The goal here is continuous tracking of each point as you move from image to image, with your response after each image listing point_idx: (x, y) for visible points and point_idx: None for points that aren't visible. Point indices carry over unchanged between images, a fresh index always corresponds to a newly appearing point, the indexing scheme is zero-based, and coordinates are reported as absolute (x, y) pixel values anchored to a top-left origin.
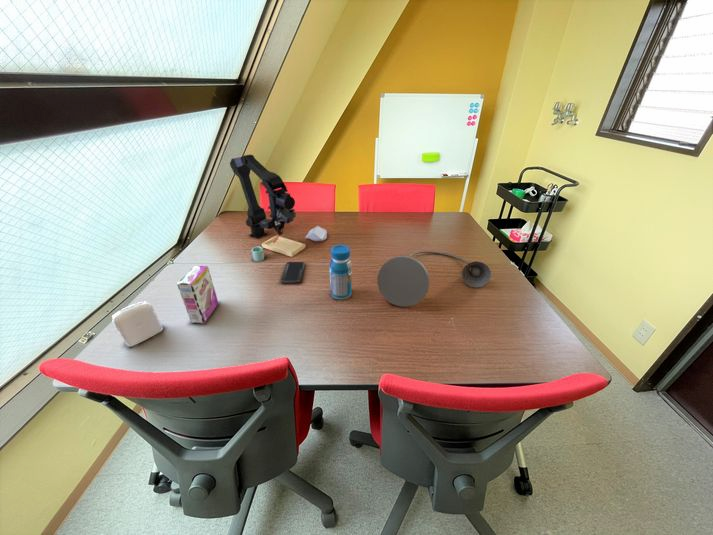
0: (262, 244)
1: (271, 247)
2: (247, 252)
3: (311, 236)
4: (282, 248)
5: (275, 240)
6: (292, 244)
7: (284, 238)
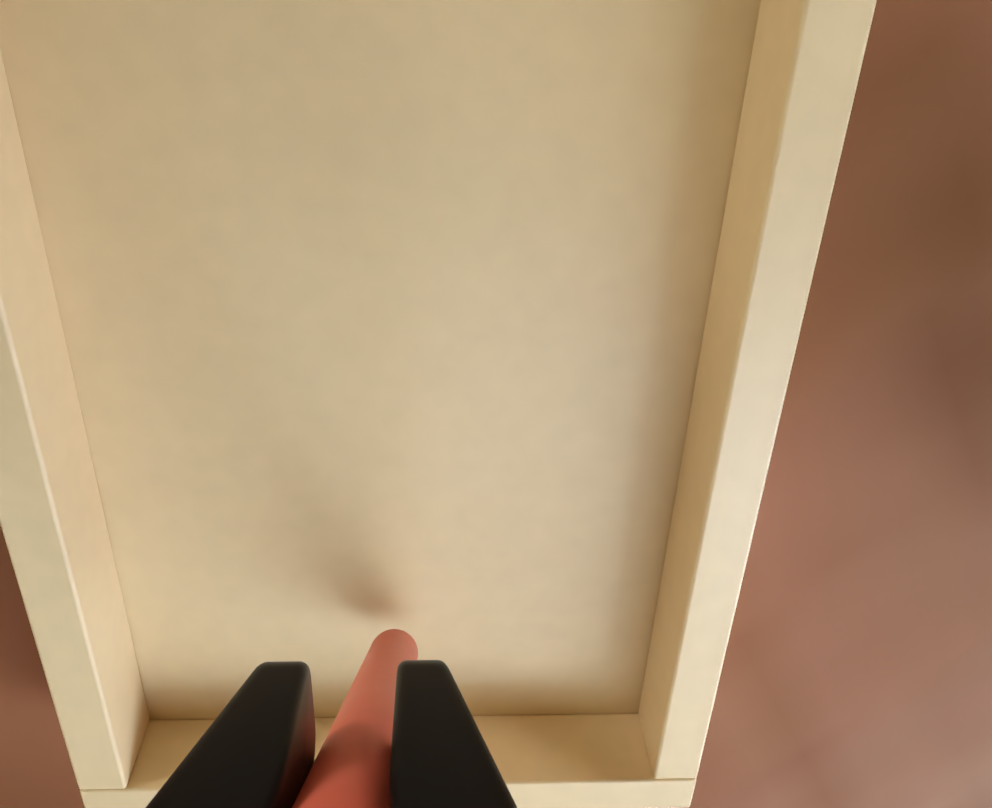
0: (691, 775)
1: (746, 514)
2: (974, 789)
3: None
4: (530, 240)
5: (407, 658)
6: (77, 108)
7: (52, 550)
